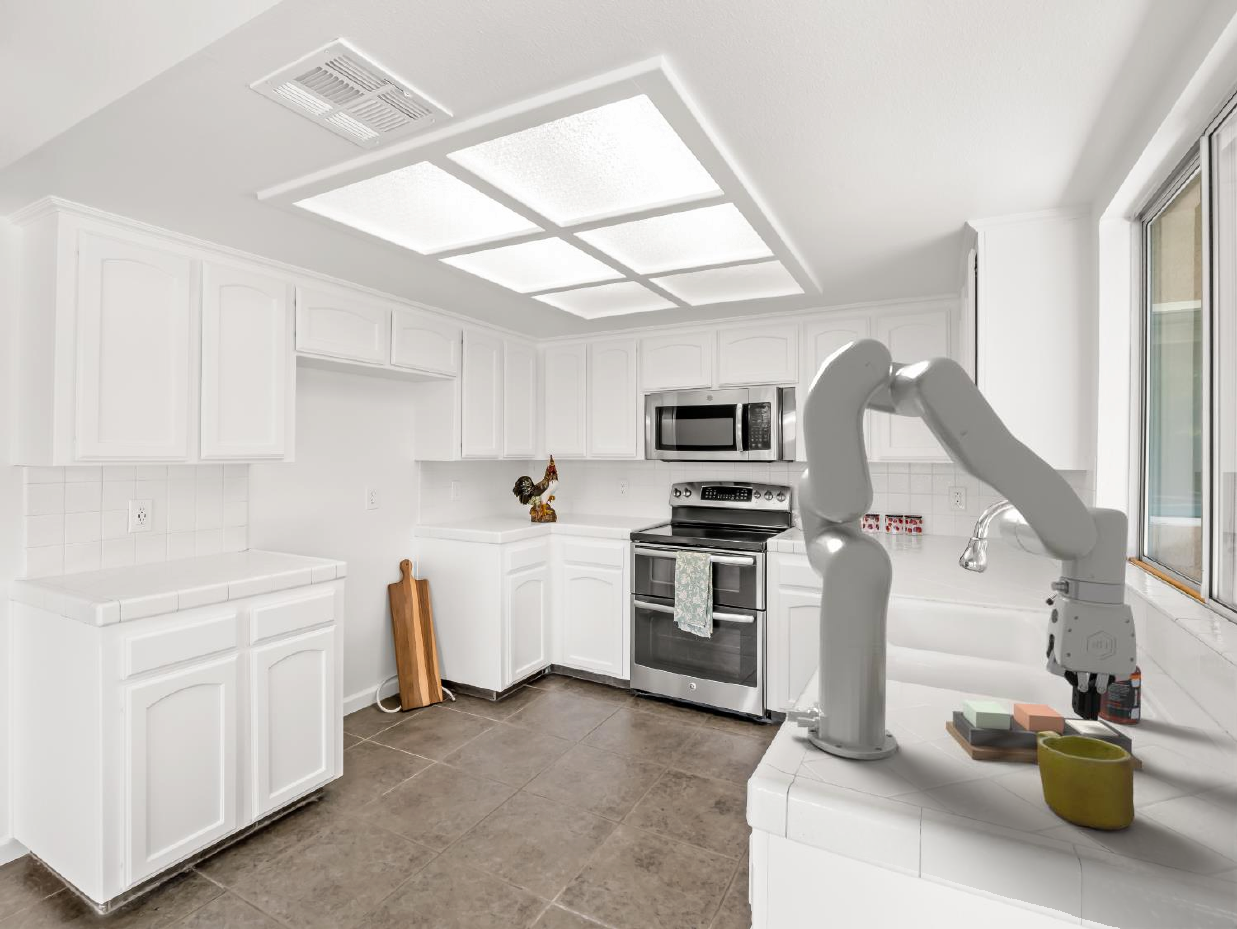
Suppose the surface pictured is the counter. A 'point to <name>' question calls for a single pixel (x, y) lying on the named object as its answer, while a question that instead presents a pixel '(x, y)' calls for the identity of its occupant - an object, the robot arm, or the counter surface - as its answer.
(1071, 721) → the key cream
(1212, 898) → the counter surface
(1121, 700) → the supplement bottle
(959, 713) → the key panel
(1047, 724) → the key terracotta
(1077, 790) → the mug
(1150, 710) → the counter surface
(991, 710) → the key sage
